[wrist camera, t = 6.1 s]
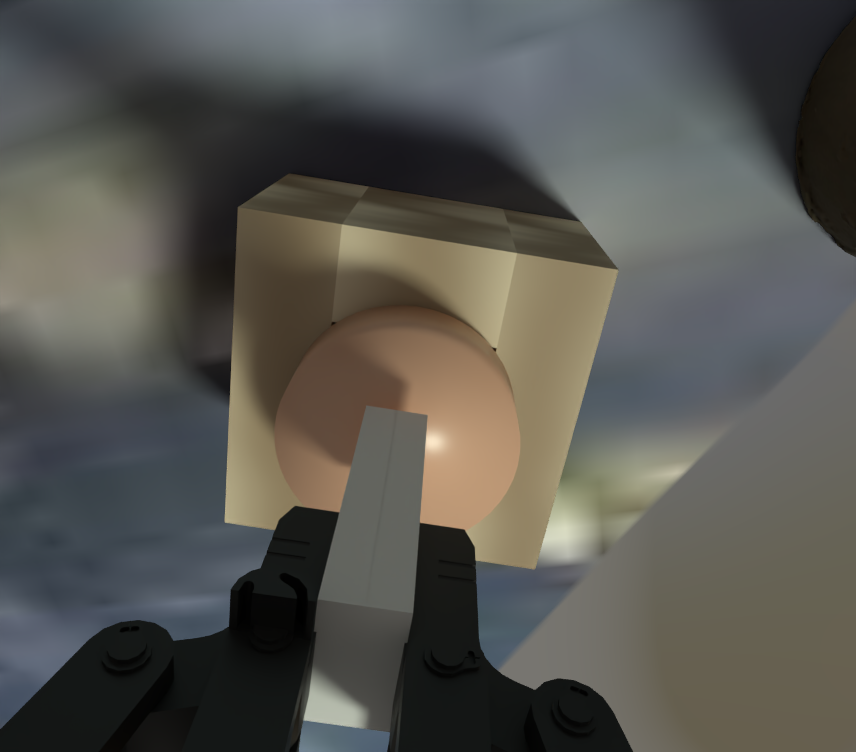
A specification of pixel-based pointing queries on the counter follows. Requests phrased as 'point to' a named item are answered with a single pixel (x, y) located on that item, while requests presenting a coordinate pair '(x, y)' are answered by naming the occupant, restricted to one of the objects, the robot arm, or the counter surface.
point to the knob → (405, 391)
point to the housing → (423, 287)
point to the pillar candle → (831, 142)
